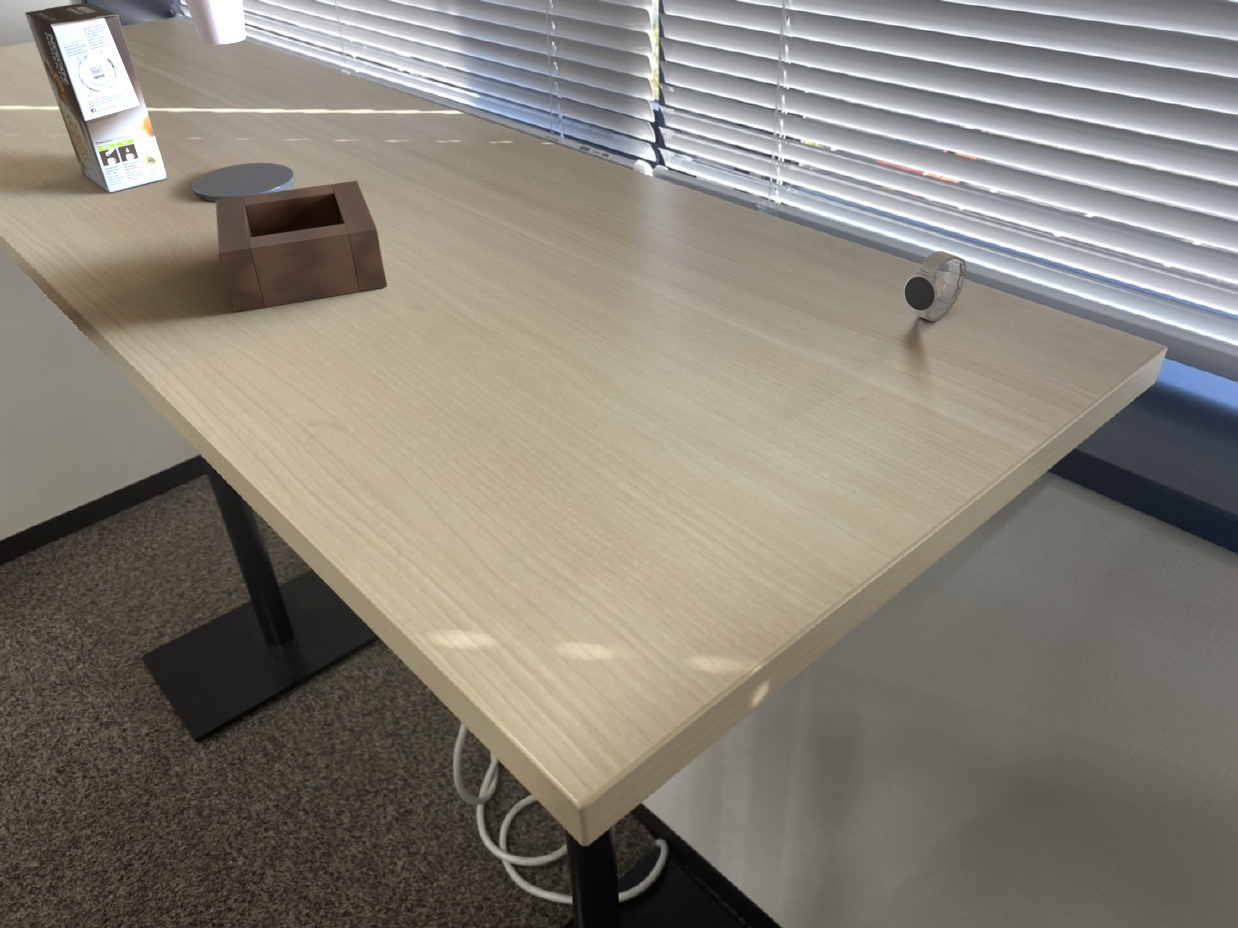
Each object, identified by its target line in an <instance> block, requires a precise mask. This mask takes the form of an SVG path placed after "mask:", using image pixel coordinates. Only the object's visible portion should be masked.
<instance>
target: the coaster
mask: <svg viewBox="0 0 1238 928" xmlns="http://www.w3.org/2000/svg"><path fill="white" fill-rule="evenodd" d="M295 180H296V177H295V172H294V171H293V169H292V168H290V167H289V166H286V165H283V164H279V163H272V162H271V163H270V162H248V163H241V164H234V165H229V166H224V167H219V168H217V169H214V170H211V171H209V172H206V173H204V174H202V175H200V176H199V177H197V178H196V179H195V180H194V182H193V183H192V190H193V194H194V195H195V196H196V197H197V198H199V199H201V200H204V201H208V202H214V203H216V200H220V199H227V198H235V197H242V196H243V197H244V196H248V195H256V194H263V193H270V192H278V191H285V190H288V189H289V188H290V187H291V186H293V184H294V183H295ZM293 182H294V183H293ZM289 186H290V187H289Z"/></svg>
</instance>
